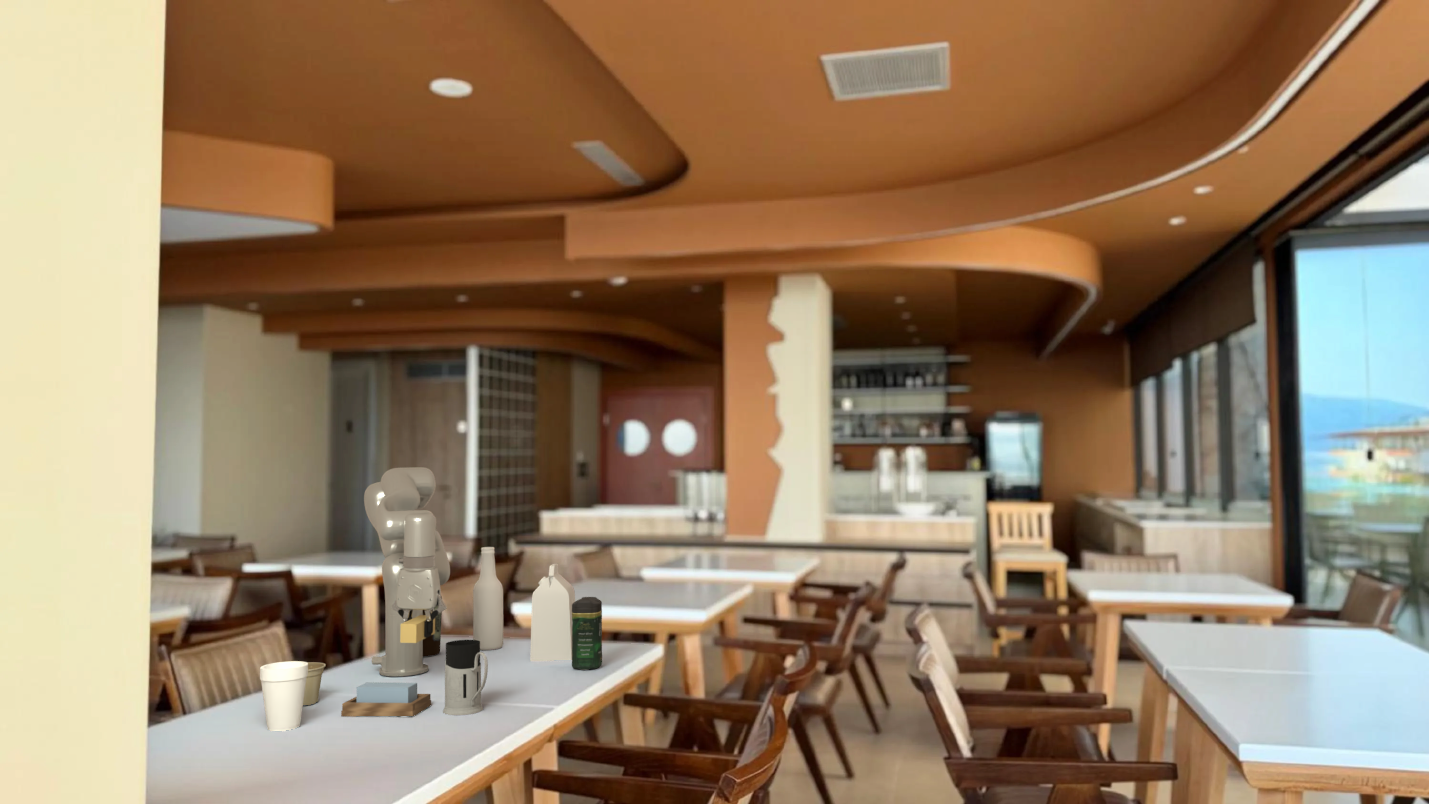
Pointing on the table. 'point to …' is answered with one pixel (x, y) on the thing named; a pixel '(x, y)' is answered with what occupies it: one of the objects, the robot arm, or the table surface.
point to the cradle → (386, 707)
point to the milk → (552, 618)
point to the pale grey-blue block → (387, 692)
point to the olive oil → (433, 638)
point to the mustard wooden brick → (414, 630)
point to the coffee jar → (587, 633)
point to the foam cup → (283, 693)
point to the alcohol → (488, 604)
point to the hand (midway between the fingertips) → (418, 635)
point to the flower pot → (313, 682)
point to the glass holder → (463, 677)
